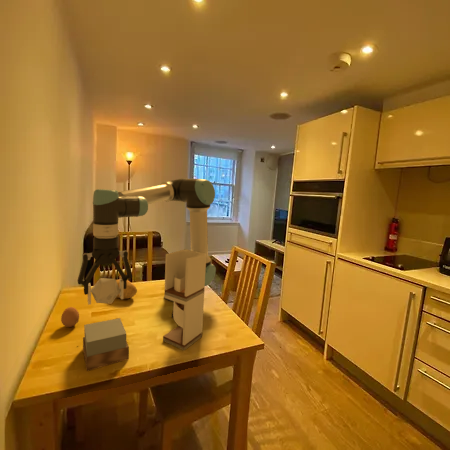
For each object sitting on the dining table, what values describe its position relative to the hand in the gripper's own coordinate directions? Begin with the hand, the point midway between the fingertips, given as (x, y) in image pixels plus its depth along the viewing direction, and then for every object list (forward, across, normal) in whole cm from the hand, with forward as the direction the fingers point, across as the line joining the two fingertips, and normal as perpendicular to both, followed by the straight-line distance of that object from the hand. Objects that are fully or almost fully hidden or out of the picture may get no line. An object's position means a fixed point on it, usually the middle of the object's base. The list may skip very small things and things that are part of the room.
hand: (105, 300), depth 90 cm
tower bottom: (+21, 0, 0) cm, 21 cm away
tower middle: (+16, 0, 0) cm, 16 cm away
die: (+1, 0, 0) cm, 1 cm away
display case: (+20, +28, -3) cm, 35 cm away
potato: (+20, +15, +46) cm, 53 cm away
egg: (+20, -10, +26) cm, 35 cm away
